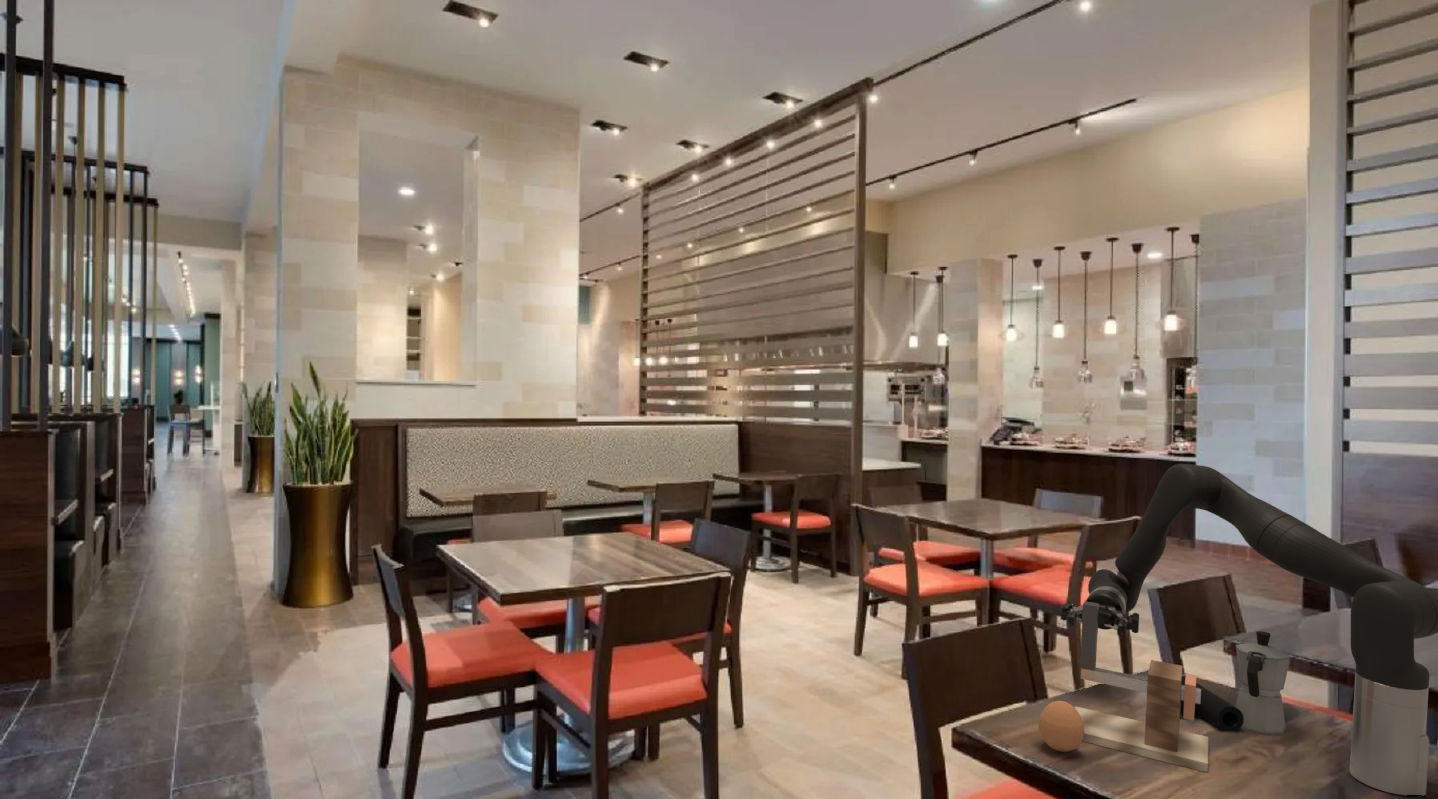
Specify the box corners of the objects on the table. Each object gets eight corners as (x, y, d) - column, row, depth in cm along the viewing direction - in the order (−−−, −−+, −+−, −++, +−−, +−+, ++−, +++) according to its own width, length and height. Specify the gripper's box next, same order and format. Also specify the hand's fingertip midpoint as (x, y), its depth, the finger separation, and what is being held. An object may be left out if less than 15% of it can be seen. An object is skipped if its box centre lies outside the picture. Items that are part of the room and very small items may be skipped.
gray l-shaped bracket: (1200, 699, 139) (1204, 620, 138) (1200, 704, 136) (1204, 624, 136) (1081, 674, 149) (1084, 601, 148) (1079, 678, 147) (1083, 604, 146)
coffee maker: (1239, 708, 159) (1244, 620, 158) (1292, 723, 153) (1298, 631, 152) (1220, 730, 148) (1225, 635, 148) (1276, 747, 142) (1282, 648, 142)
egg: (1079, 764, 133) (1082, 714, 133) (1033, 751, 137) (1036, 703, 137) (1086, 747, 140) (1088, 700, 139) (1041, 736, 144) (1044, 690, 143)
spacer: (1194, 708, 141) (1196, 675, 140) (1194, 720, 135) (1195, 686, 135) (1184, 706, 141) (1185, 673, 141) (1183, 718, 136) (1184, 683, 136)
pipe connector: (1184, 703, 148) (1140, 673, 163) (1182, 731, 148) (1138, 698, 163) (1244, 706, 148) (1195, 676, 163) (1242, 734, 148) (1193, 701, 163)
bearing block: (1207, 745, 142) (1211, 668, 142) (1207, 772, 132) (1211, 690, 131) (1075, 713, 154) (1078, 643, 153) (1065, 736, 144) (1069, 661, 143)
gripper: (1069, 583, 172) (1057, 600, 158) (1143, 595, 165) (1137, 613, 151) (1068, 617, 172) (1055, 637, 159) (1142, 630, 165) (1135, 652, 151)
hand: (1095, 625), depth 155 cm, fingers open, 8 cm apart
